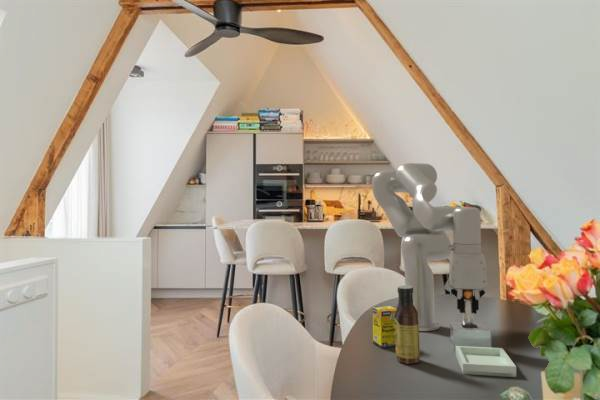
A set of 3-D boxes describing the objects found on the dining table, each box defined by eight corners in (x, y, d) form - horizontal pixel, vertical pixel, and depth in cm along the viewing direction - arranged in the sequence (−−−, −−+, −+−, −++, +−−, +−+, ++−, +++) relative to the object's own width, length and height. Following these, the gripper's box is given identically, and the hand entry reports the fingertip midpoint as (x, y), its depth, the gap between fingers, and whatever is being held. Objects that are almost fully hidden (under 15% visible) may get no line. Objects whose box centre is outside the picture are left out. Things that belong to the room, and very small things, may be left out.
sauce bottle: (402, 355, 120) (400, 283, 120) (424, 360, 116) (422, 285, 116) (391, 362, 115) (389, 287, 115) (413, 367, 111) (411, 289, 111)
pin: (463, 337, 126) (462, 289, 126) (461, 334, 129) (461, 287, 129) (474, 338, 125) (473, 289, 125) (472, 335, 128) (472, 287, 128)
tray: (463, 373, 106) (462, 363, 106) (455, 354, 119) (455, 345, 119) (516, 377, 103) (516, 366, 103) (502, 357, 117) (502, 348, 117)
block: (453, 350, 123) (453, 329, 123) (450, 341, 131) (450, 321, 131) (491, 352, 121) (490, 330, 121) (485, 343, 129) (485, 323, 129)
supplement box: (381, 349, 126) (380, 311, 126) (372, 343, 132) (371, 306, 132) (400, 347, 127) (399, 309, 128) (390, 341, 133) (389, 305, 133)
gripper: (439, 250, 125) (439, 314, 125) (500, 251, 121) (500, 316, 121) (436, 247, 132) (437, 307, 132) (494, 248, 129) (494, 310, 129)
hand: (467, 311), depth 127 cm, fingers closed on pin, 3 cm apart
